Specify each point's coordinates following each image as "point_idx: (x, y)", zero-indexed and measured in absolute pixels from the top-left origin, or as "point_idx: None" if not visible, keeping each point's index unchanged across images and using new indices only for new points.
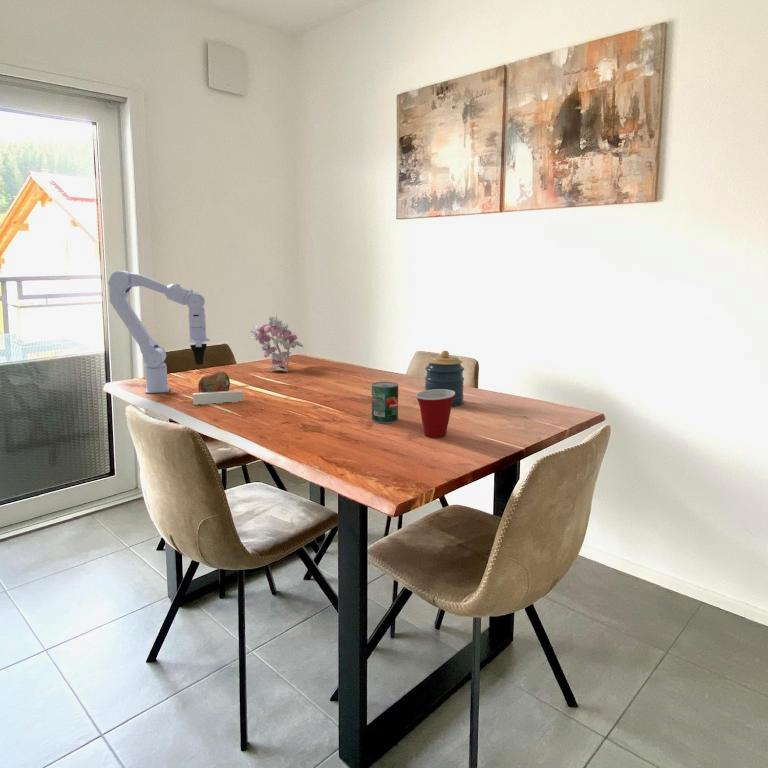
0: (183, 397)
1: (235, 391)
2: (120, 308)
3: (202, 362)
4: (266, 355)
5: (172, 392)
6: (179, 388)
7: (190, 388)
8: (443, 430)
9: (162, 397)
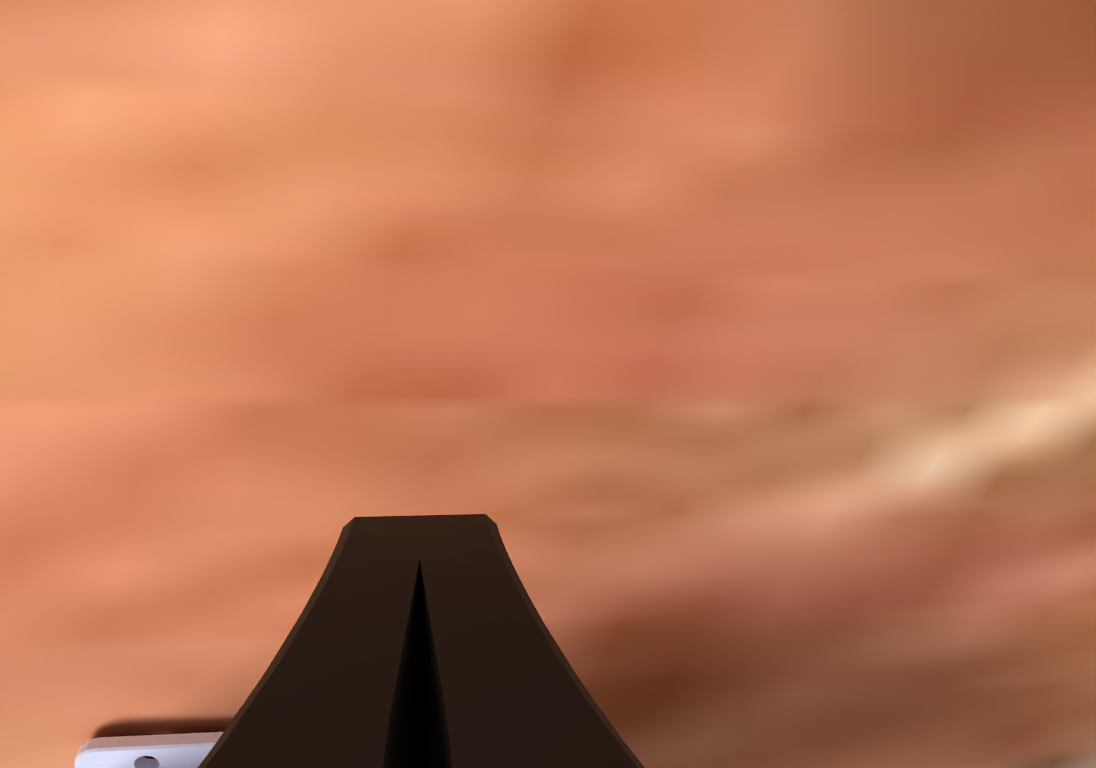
0: (973, 520)
1: None
2: None
3: (500, 554)
4: None
5: None
6: (208, 595)
7: (248, 431)
8: None
9: (827, 754)
